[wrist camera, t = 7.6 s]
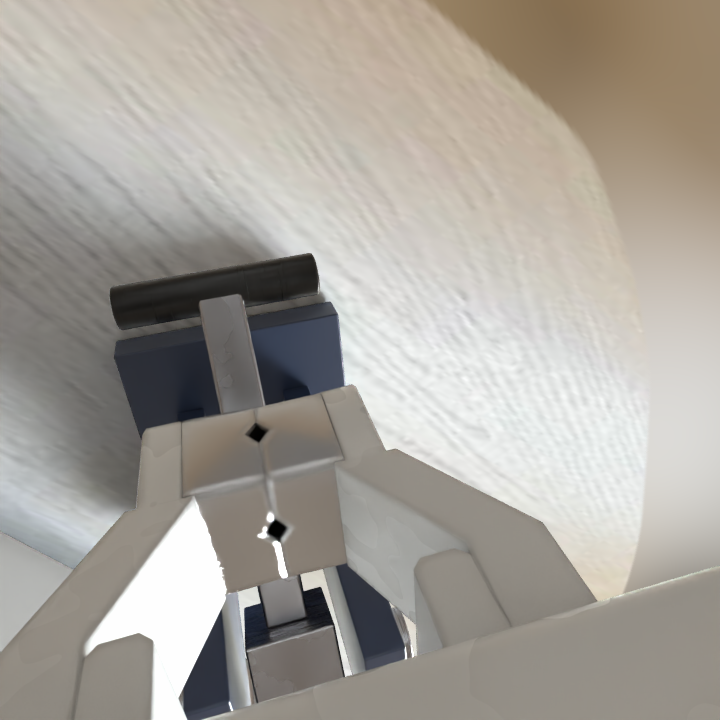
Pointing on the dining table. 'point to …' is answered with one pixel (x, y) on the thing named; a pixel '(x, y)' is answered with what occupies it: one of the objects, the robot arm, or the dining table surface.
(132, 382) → the bracket
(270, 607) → the lever
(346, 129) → the dining table surface
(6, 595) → the toaster
